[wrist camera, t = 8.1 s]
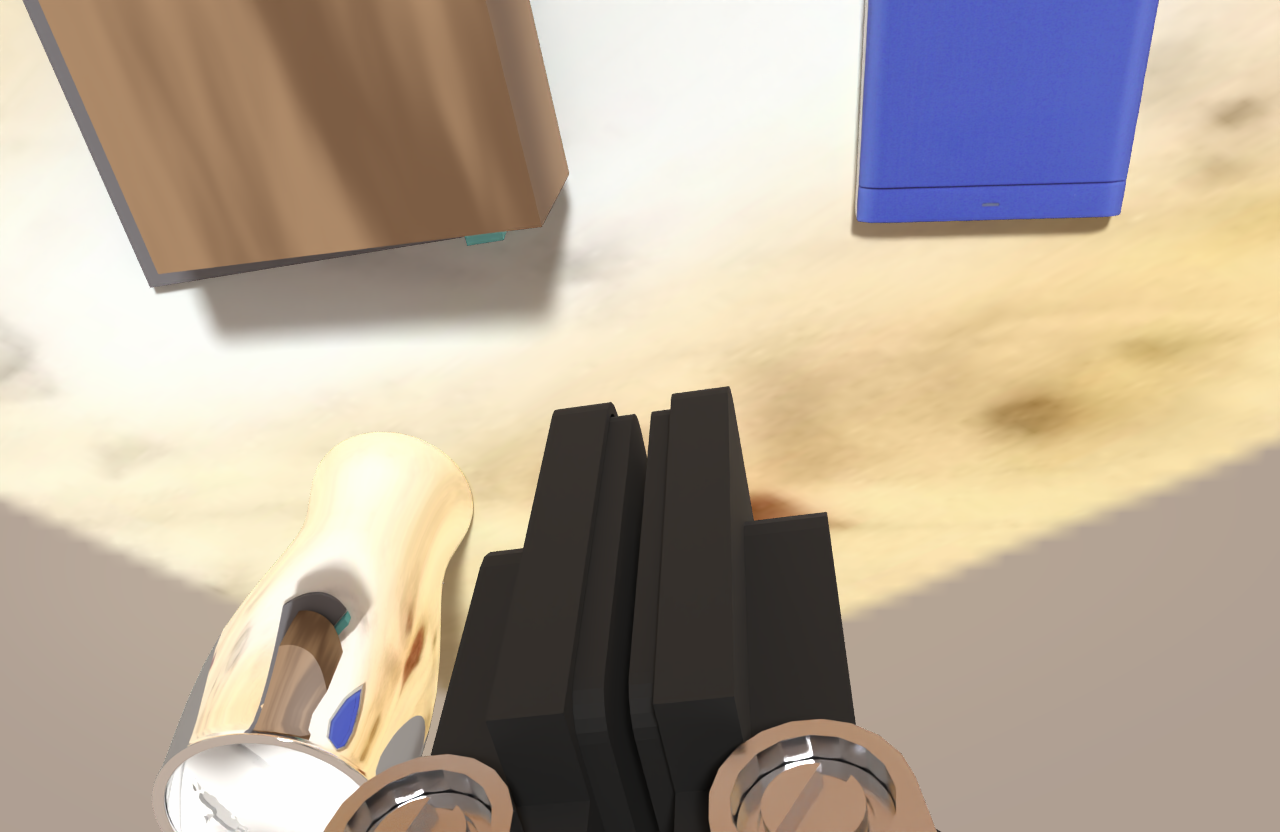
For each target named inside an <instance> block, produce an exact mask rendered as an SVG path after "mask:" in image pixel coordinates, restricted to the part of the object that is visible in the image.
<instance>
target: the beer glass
mask: <svg viewBox="0 0 1280 832" xmlns="http://www.w3.org/2000/svg"><path fill="white" fill-rule="evenodd" d="M472 515H473V500H472V494H471V490H470V487H469V484H468V482H467V480H466V478H465V476H464V474H463V473H462V471H461V470H460V468H459V467H458V466H457V465H456V463H455V462H454V461H453V460H452V459H451V458H450V457H448V456H447V455H446V454H445V453H444V452H442V451H441V450H440V449H438V448H437V447H435V446H433V445H432V444H430V443H428V442H426V441H424V440H421V439H419V438H416V437H413V436H410V435H406V434H401V433H395V432H369V433H364V434H359V435H356V436H353V437H350V438H348V439H346V440H344V441H342V442H340V443H339V444H337V445H336V446H335V447H333V448H332V449H331V450H330V451H329V452H328V453H327V454H326V455H325V456H324V458H323V459H322V460H321V462H320V463H319V465H318V467H317V469H316V472H315V475H314V478H313V481H312V486H311V491H310V497H309V504H308V510H307V515H306V519H305V521H304V524H303V526H302V528H301V529H300V531H299V533H298V534H297V536H296V537H295V539H294V540H293V541H292V543H291V544H290V545H289V546H288V548H287V549H286V550H285V551H284V553H283V554H282V555H281V556H280V557H279V558H278V560H277V561H276V562H275V563H274V564H273V566H272V567H271V568H270V569H269V570H268V571H267V573H266V574H265V575H264V576H263V577H262V579H261V580H260V581H259V582H258V584H257V585H256V586H255V587H254V588H253V590H252V591H251V592H250V593H249V595H248V596H247V597H246V598H245V600H244V601H243V602H242V604H241V605H240V607H239V608H238V609H237V611H236V612H235V614H234V615H233V616H232V618H231V619H230V621H229V622H228V623H227V625H226V626H225V628H224V629H223V631H222V633H221V635H220V636H219V638H218V640H217V642H216V643H215V645H214V647H213V649H212V651H211V653H210V654H209V656H208V658H207V660H206V662H205V663H204V665H203V667H202V670H201V672H200V674H199V676H198V678H197V681H196V683H195V685H194V687H193V689H192V691H191V694H190V696H189V698H188V701H187V703H186V706H185V708H184V711H183V713H182V716H181V718H180V721H179V724H178V726H177V729H176V731H175V734H174V737H173V739H172V743H171V745H170V748H169V750H168V753H167V756H166V758H165V761H164V763H163V766H162V768H161V769H160V771H159V773H158V775H157V777H156V779H155V782H154V786H153V792H152V804H153V811H154V814H155V817H156V820H157V822H158V825H159V827H160V829H161V830H162V832H324V830H325V828H326V826H327V825H328V823H329V822H330V820H331V819H332V817H333V816H334V814H335V813H336V811H337V810H338V808H339V807H340V806H341V804H342V803H343V802H344V801H345V800H346V799H347V798H348V797H349V796H351V795H352V794H353V793H354V792H355V791H356V790H357V789H358V788H359V787H360V786H361V785H362V784H364V783H365V782H366V781H368V780H370V779H371V778H373V777H375V776H376V775H378V774H380V773H382V772H383V771H385V770H387V769H388V768H390V767H392V766H395V765H398V764H401V763H403V762H406V761H409V760H412V759H415V758H418V757H422V753H423V750H424V747H425V743H426V740H427V737H428V733H429V728H430V723H431V719H432V714H433V710H434V705H435V701H436V694H437V684H438V674H439V664H440V638H441V599H442V585H443V584H444V582H443V580H444V575H445V572H446V569H447V566H448V564H449V561H450V559H451V558H452V556H453V555H454V553H455V551H456V550H457V548H458V547H459V545H460V544H461V542H462V540H463V539H464V537H465V535H466V533H467V531H468V529H469V526H470V523H471V520H472Z"/></svg>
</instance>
